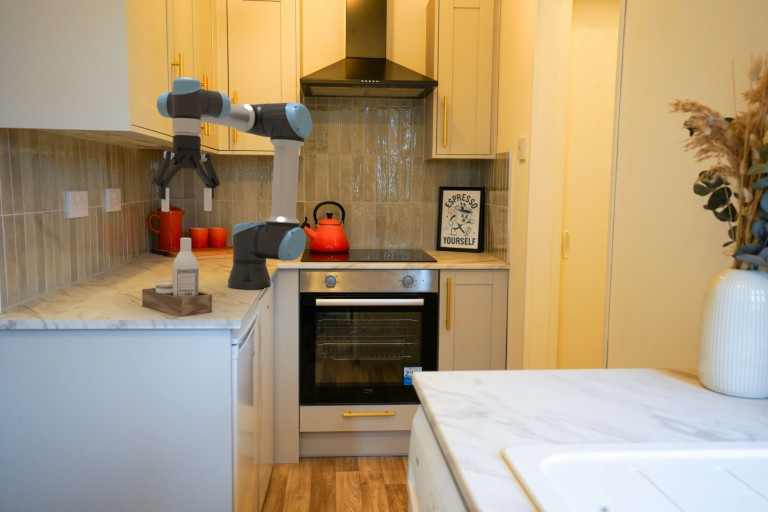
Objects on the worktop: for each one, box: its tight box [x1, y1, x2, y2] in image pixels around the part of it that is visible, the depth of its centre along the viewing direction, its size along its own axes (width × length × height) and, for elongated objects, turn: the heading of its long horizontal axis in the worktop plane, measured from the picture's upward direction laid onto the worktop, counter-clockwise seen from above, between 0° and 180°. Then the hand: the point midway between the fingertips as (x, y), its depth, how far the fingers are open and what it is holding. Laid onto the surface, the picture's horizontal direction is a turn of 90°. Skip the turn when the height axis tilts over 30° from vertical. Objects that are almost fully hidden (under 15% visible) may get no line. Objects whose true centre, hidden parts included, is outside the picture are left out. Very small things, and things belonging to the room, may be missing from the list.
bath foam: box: [172, 237, 199, 298], centre depth 187 cm, size 7×7×20 cm
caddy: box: [141, 287, 213, 317], centre depth 191 cm, size 10×20×5 cm, turn 48°
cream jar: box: [154, 280, 173, 293], centre depth 194 cm, size 7×7×6 cm
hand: (187, 211), depth 187 cm, fingers open, 13 cm apart
